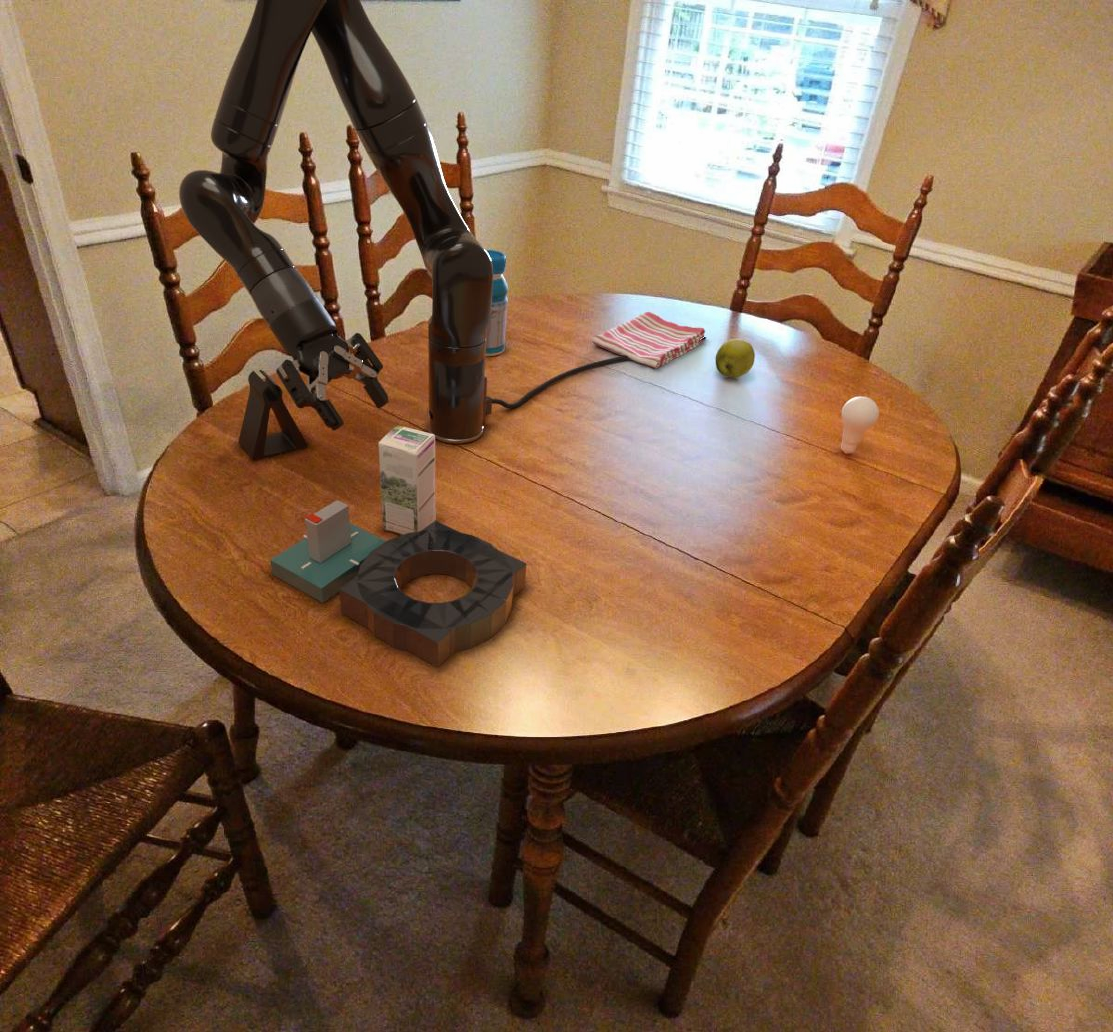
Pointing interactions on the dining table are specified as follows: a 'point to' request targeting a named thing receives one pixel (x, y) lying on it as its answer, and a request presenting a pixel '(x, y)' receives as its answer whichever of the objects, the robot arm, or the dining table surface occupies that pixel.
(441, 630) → the dark grey ring block
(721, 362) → the apple
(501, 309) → the beverage bottle
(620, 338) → the dish towel
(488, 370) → the dining table surface
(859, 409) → the lightbulb
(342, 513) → the tap handle
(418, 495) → the syrup box
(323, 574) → the block
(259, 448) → the phone stand
